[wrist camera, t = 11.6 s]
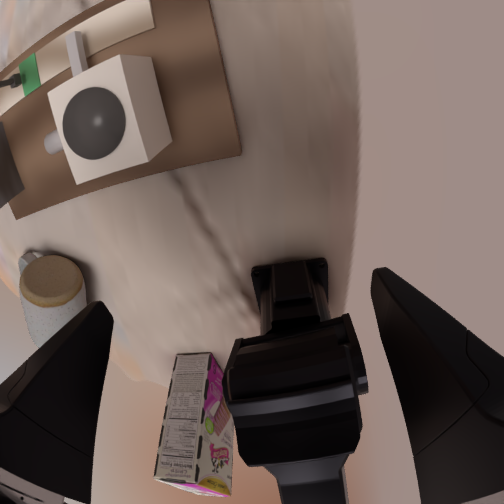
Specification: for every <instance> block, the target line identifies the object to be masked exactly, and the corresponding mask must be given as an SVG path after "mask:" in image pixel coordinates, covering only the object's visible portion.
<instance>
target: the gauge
mask: <svg viewBox="0 0 504 504" xmlns="http://www.w3.org/2000/svg"><path fill="white" fill-rule="evenodd" d="M65 39H66V45H67V50H68V56H69V60H70V65H71V70H72V74H73V78H71V79H69V80H68V81H66V82H64V83H62V84H61V85H59V86H57V87H56V88H54V89H53V90H51V91H49V92H48V93H47V94H48V98H49V102H50V105H51V109H52V113H53V116H54V120H55V123H56V127H57V129H56V130H54V131H52V132H50V133H49V134H47V135H46V137H45V139H44V145H45V149H46V150H47V152H48V153H49V154H52V155H54V154H56V153H58V152H60V151H62V150H64V152H65V154H66V157H67V160H68V163H69V166H70V168H71V171H72V174H73V176H74V179H75V182H76V184H77V185H78V184H81V183H83V182H86V181H89V180H92V179H95V178H98V177H101V176H104V175H107V174H110V173H113V172H116V171H119V170H122V169H126V168H129V167H132V166H136V165H139V164H143V163H146V162H149V161H150V160H151V159H152V158H154V157H155V156H156V155H157V154H158V153H159V152H160V151H162V150H163V149H164V148H165V147H166V146H167V145H169V144H170V143H171V142H172V137H171V134H170V130H169V126H168V123H167V119H166V115H165V111H164V107H163V104H162V100H161V96H160V92H159V88H158V84H157V80H156V75H155V71H154V67H153V63H152V59H151V57H146V56H136V55H123V54H119V55H117V56H115V57H112V58H110V59H108V60H106V61H104V62H102V63H100V64H98V65H96V66H94V67H92V68H90V69H88V65H87V61H86V56H85V51H84V46H83V41H82V36H81V31H73V32H72V33H70V34H68V35H67V36H65Z"/></svg>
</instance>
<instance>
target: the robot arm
mask: <svg viewBox="0 0 504 504" xmlns="http://www.w3.org/2000/svg"><path fill="white" fill-rule="evenodd" d="M321 263H324V264H323V265H320V264H321ZM255 272H258V274H256V273H255ZM251 277H252V281H253V286H254V290H255V294H256V298H257V302H258V306H259V311H260V315H261V336H256V337H251V338H246V339H243V338H239V339H236V340H235V343H234V346H233V348H232V351H231V354H230V357H229V360H228V363H227V365H226V368H225V371H224V375H223V378H222V381H221V383H222V387H223V389H222V394H223V396H224V399H225V403H226V405H227V408H228V409H229V411H230V413H231V415H232V417H233V421H234V425H235V430H236V436H237V444H238V452H239V455H240V456H241V458H242V459H243V460H244V462H245V463H246V465H247V466H249V467H258V466H263V467H265V468H266V469H267V470H268V471H269V472H270V473H271V474H272V475H273V476H274V477H275V478H276V480H277V483H278V488H279V493H280V498H281V502H282V504H349V500H348V492H347V484H346V477H345V469H344V464H345V462H346V460H347V458H348V456H349V454H352V453H354V452H355V449H356V447H357V445H358V442H359V440H360V432H361V430H362V418H361V412H360V405H359V399H358V395H362V394H366V393H368V381H367V375H366V369H365V364H364V360H363V355H362V352H361V348H360V345H359V341H358V339H357V335H356V333H355V330H354V327H353V324H352V321H351V318H350V315H349V313H347V314H343V315H342V316H341V317H337V318H333V319H331V316H330V311H329V307H328V264H327V260H326V259H324V258H318V259H311V260H304V261H296V262H288V263H281V264H274V265H267V266H259V267H254V268H252V270H251ZM371 298H372V302H373V306H374V310H375V315H376V319H377V323H378V328H379V332H380V337H381V340H382V344H383V347H384V350H385V353H386V356H387V359H388V362H389V366H390V369H391V372H392V375H393V379H394V382H395V385H396V389H397V392H398V396H399V400H400V403H401V407H402V411H403V414H404V418H405V422H406V426H407V431H408V435H409V439H410V444H411V448H412V453H413V456H414V457H413V458H414V463H415V469H416V474H417V480H418V486H419V492H420V498H421V504H504V357H503V356H501V355H500V354H499V353H497V352H496V351H495V350H493V349H492V348H490V347H489V346H488V345H487V344H486V343H484V342H483V341H482V340H481V339H479V338H478V337H477V336H476V335H475V334H473V333H472V332H471V331H470V330H467V328H466V327H465V326H463V325H462V324H461V323H460V322H459V321H457V320H456V319H455V318H453V317H452V316H451V315H450V314H449V313H447V312H446V311H445V310H443V309H442V308H441V307H440V306H438V305H437V304H436V303H434V302H433V301H431V300H430V299H429V298H428V297H426V296H425V295H424V294H423V293H421V292H420V291H418V290H417V289H416V288H414V287H413V286H412V285H411V284H409V283H408V282H406V281H405V280H404V279H402V278H401V277H399V276H398V275H397V274H395V273H394V272H393V271H391V270H390V269H388V268H386V267H383V268H376V269H374V270H373V273H372V281H371ZM113 324H114V320H113V316H112V315H111V313H110V312H109V310H108V309H107V307H106V306H105V304H104V303H103V302H102V301H93V302H91V303H89V304H88V305H87V306H86V307H85V308H84V309H82V310H81V311H80V312H79V313H78V314H77V315H75V316H74V317H73V318H72V319H71V320H70V321H69V322H68V323H66V324H65V325H64V326H63V327H62V328H61V329H60V330H59V331H57V332H56V333H55V334H54V335H53V336H52V337H51V338H50V339H49V340H48V341H46V342H45V343H44V344H43V345H42V346H41V347H40V348H39V349H38V350H37V351H36V352H35V353H34V354H33V355H31V356H30V357H29V358H28V360H26V361H25V362H24V363H23V364H22V365H21V366H20V367H19V368H18V369H17V370H16V371H15V372H14V373H13V374H11V375H10V376H9V377H8V378H7V379H6V380H5V381H4V382H3V383H1V384H0V504H67V503H66V502H64V497H67V498H70V499H73V500H76V501H79V502H82V503H85V504H91V486H92V469H93V456H94V446H95V436H96V429H97V421H98V414H99V408H100V402H101V396H102V391H103V385H104V380H105V375H106V370H107V365H108V360H109V353H110V345H111V338H112V331H113Z"/></svg>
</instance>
